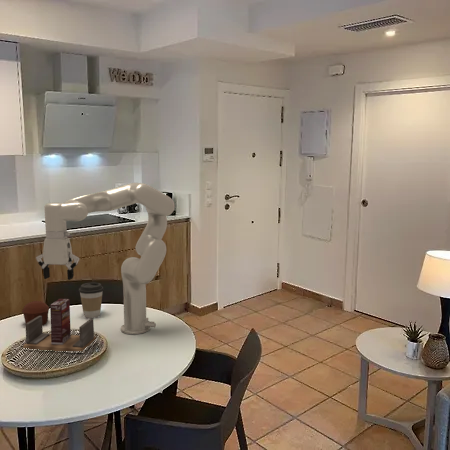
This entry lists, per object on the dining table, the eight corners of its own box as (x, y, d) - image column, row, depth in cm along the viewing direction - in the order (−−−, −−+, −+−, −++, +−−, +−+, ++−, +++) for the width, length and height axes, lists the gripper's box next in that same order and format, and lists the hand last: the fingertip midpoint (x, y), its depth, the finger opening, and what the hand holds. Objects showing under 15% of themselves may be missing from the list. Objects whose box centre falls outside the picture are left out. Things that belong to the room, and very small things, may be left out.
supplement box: (63, 345, 182) (61, 305, 180) (50, 344, 182) (49, 304, 180) (71, 336, 191) (70, 298, 189) (60, 336, 191) (58, 298, 189)
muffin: (55, 321, 214) (54, 300, 213) (36, 329, 204) (35, 307, 203) (36, 318, 219) (35, 297, 218) (16, 325, 209) (15, 303, 208)
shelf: (96, 341, 191) (95, 317, 190) (82, 354, 179) (81, 328, 177) (41, 337, 195) (40, 314, 194) (23, 350, 182) (22, 325, 181)
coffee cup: (109, 314, 224) (108, 284, 222) (91, 321, 215) (90, 289, 213) (92, 310, 230) (91, 280, 228) (74, 317, 221) (73, 285, 219)
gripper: (82, 233, 183) (84, 277, 186) (40, 233, 186) (42, 275, 188) (73, 237, 176) (75, 281, 178) (30, 236, 178) (32, 280, 181)
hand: (58, 278), depth 183 cm, fingers open, 9 cm apart
